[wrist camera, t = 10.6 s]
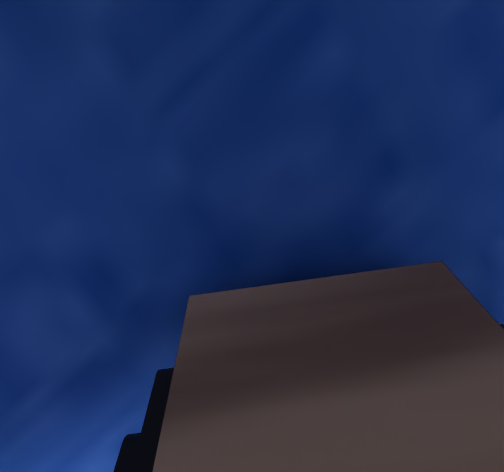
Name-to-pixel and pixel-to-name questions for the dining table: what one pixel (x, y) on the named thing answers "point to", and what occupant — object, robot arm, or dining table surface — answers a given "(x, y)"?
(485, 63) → the dining table surface
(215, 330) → the brown block
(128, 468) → the robot arm
